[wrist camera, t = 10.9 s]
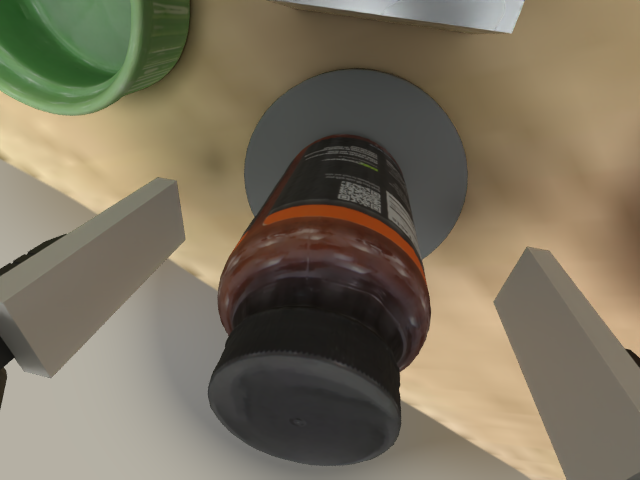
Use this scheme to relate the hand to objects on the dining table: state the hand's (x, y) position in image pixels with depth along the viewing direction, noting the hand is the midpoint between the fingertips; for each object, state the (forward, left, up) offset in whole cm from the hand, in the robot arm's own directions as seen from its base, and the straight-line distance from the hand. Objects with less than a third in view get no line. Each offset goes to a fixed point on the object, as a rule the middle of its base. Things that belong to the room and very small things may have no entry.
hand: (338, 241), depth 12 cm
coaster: (0, 0, -5) cm, 5 cm away
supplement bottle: (0, 0, -5) cm, 5 cm away
